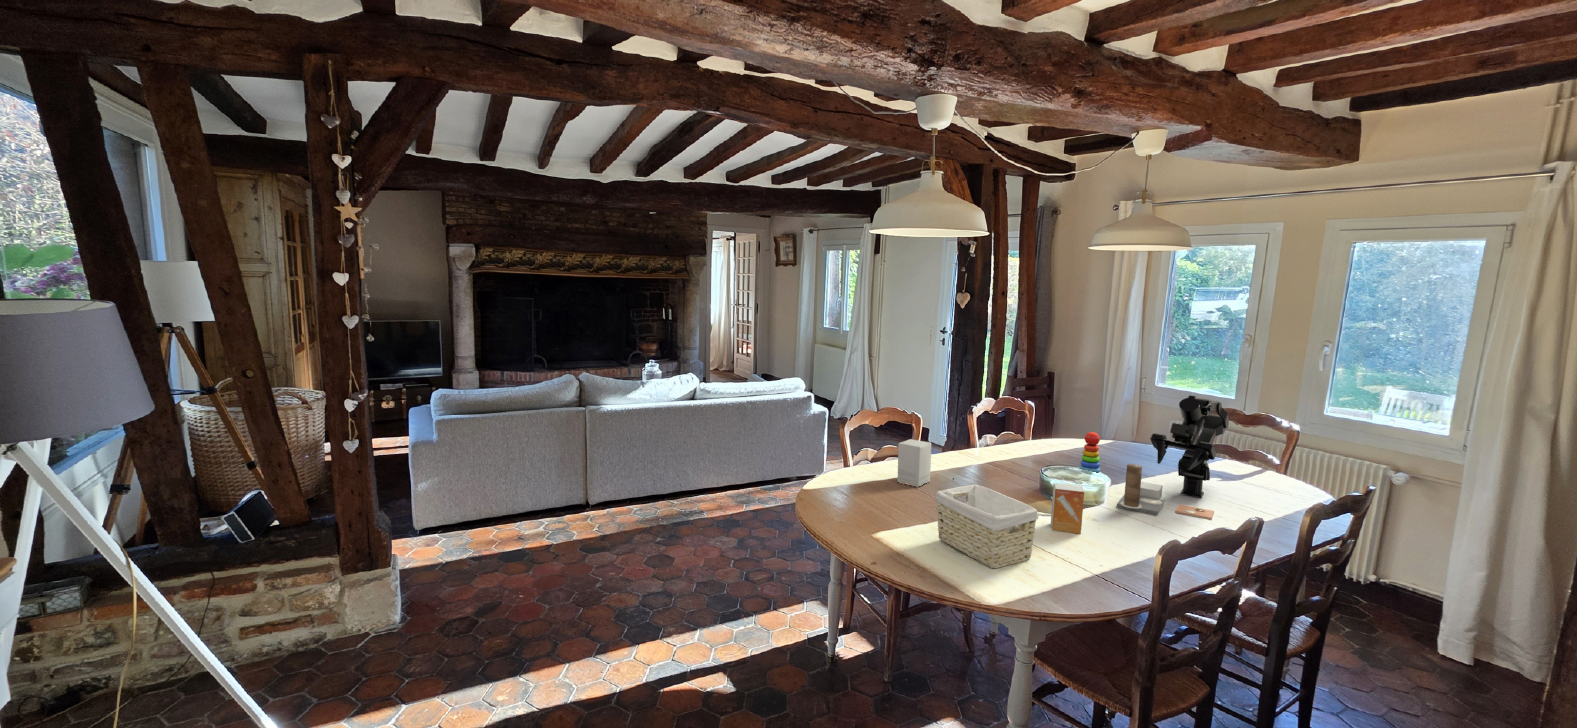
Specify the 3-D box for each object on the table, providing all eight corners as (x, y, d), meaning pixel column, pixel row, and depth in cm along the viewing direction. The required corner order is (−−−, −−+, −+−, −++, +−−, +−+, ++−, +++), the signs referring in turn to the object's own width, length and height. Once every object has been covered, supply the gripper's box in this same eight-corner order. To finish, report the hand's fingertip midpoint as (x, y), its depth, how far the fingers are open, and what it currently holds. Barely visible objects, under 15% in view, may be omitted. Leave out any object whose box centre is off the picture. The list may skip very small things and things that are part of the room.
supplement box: (930, 482, 242) (932, 442, 240) (918, 488, 235) (920, 447, 233) (909, 477, 248) (910, 438, 246) (896, 482, 241) (897, 442, 239)
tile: (1178, 505, 220) (1178, 503, 220) (1214, 512, 214) (1214, 510, 214) (1175, 512, 214) (1175, 510, 214) (1211, 519, 208) (1211, 517, 208)
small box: (1051, 530, 197) (1054, 488, 195) (1050, 523, 203) (1053, 482, 201) (1081, 534, 195) (1084, 491, 193) (1079, 526, 201) (1082, 484, 199)
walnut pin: (1128, 501, 220) (1131, 463, 218) (1141, 505, 216) (1145, 466, 214) (1120, 503, 217) (1124, 465, 216) (1133, 507, 214) (1137, 468, 212)
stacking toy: (1103, 485, 240) (1106, 435, 238) (1079, 484, 242) (1083, 434, 240) (1097, 479, 248) (1101, 430, 246) (1074, 478, 250) (1078, 429, 247)
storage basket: (1038, 561, 176) (1041, 507, 174) (992, 573, 168) (995, 517, 166) (974, 530, 197) (976, 482, 195) (931, 540, 189) (933, 490, 187)
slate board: (1124, 496, 228) (1125, 493, 228) (1164, 504, 221) (1164, 500, 221) (1115, 508, 217) (1115, 504, 217) (1156, 516, 210) (1157, 512, 209)
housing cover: (1136, 491, 234) (1136, 480, 234) (1161, 496, 229) (1162, 485, 229) (1131, 497, 228) (1132, 486, 227) (1157, 502, 223) (1158, 490, 223)
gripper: (1154, 409, 226) (1137, 446, 221) (1216, 419, 211) (1198, 458, 206) (1163, 429, 232) (1146, 465, 227) (1223, 440, 217) (1206, 478, 212)
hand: (1173, 466), depth 218 cm, fingers open, 9 cm apart
